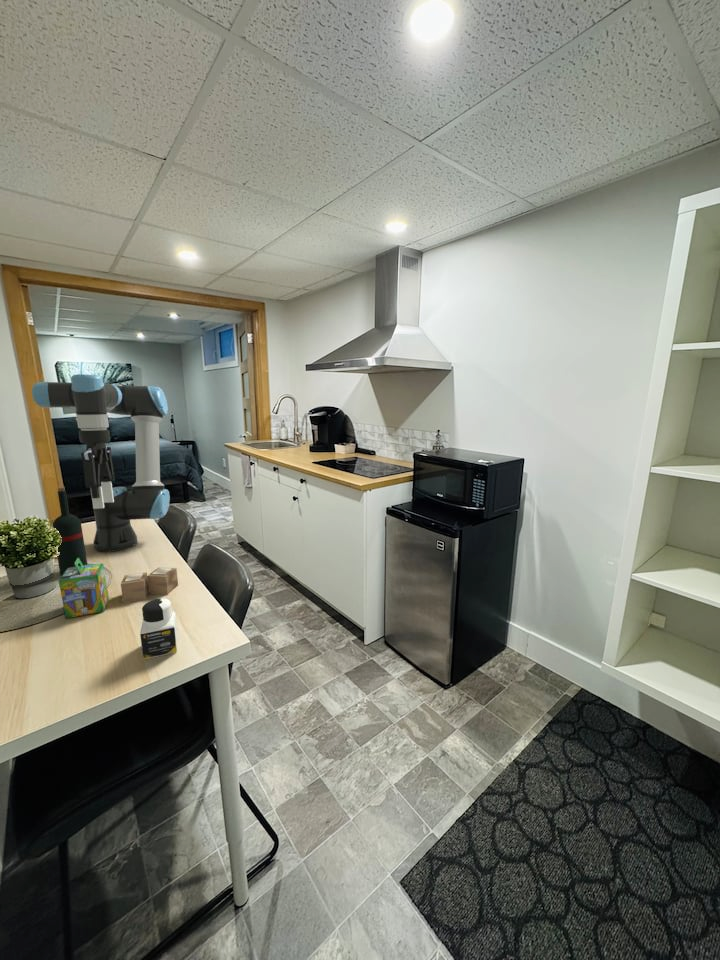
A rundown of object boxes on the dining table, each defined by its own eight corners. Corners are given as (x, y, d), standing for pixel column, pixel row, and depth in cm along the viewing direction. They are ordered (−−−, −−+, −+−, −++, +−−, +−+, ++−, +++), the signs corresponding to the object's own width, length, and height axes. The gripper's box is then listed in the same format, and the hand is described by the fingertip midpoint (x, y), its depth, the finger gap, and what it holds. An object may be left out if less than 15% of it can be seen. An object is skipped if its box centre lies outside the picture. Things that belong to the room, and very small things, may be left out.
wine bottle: (89, 563, 141) (77, 482, 135) (87, 574, 132) (75, 488, 126) (61, 568, 137) (48, 485, 130) (59, 579, 128) (44, 491, 122)
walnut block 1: (127, 593, 120) (124, 574, 119) (148, 590, 122) (146, 571, 121) (123, 602, 115) (120, 583, 113) (145, 599, 117) (143, 579, 115)
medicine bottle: (143, 660, 90) (137, 613, 87) (146, 642, 96) (140, 598, 94) (177, 652, 92) (172, 607, 90) (177, 636, 99) (173, 593, 96)
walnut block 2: (160, 584, 126) (158, 566, 124) (178, 585, 125) (176, 567, 124) (149, 593, 120) (146, 575, 119) (167, 594, 119) (165, 575, 118)
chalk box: (103, 612, 109) (96, 563, 106) (64, 619, 106) (55, 569, 103) (109, 597, 118) (103, 551, 114) (73, 603, 114) (65, 556, 111)
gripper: (94, 426, 122) (104, 497, 127) (61, 432, 104) (74, 514, 109) (120, 426, 124) (129, 496, 129) (92, 431, 105) (103, 513, 110)
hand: (104, 504), depth 119 cm, fingers open, 6 cm apart
